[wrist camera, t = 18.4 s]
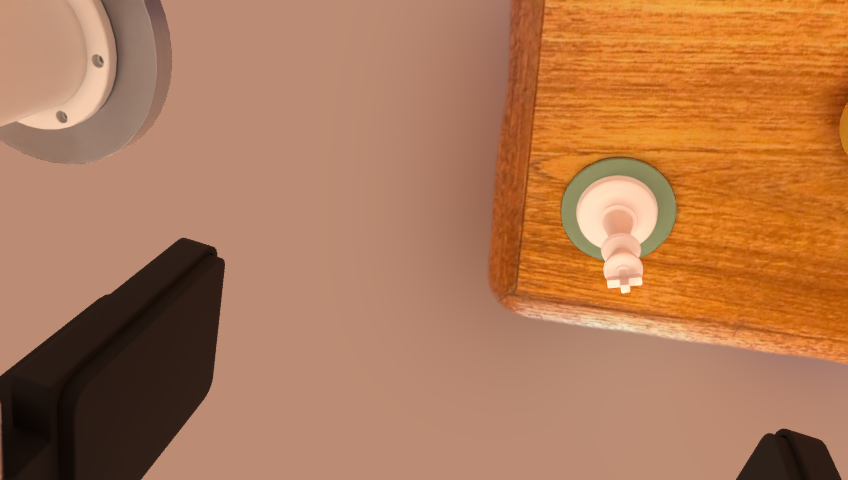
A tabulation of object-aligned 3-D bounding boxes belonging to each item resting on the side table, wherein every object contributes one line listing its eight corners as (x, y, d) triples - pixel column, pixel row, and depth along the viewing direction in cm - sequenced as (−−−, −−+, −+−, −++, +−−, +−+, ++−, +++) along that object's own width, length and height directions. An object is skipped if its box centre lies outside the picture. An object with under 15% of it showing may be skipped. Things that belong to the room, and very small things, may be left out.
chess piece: (661, 242, 43) (682, 326, 34) (582, 251, 44) (582, 335, 35) (653, 169, 41) (672, 237, 32) (570, 181, 42) (567, 250, 34)
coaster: (547, 241, 45) (546, 243, 45) (581, 143, 42) (581, 145, 41) (650, 272, 44) (651, 275, 44) (694, 175, 41) (695, 178, 41)
